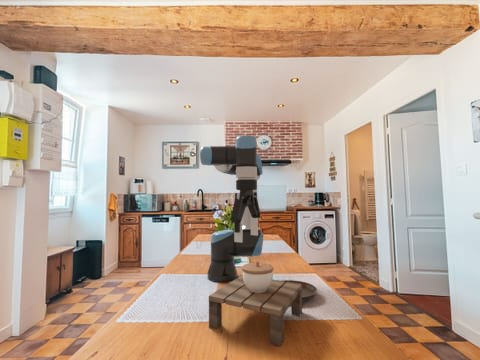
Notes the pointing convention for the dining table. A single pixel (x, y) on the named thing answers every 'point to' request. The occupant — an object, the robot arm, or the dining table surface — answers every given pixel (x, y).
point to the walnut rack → (258, 303)
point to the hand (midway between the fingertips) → (246, 238)
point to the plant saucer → (305, 290)
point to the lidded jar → (257, 276)
